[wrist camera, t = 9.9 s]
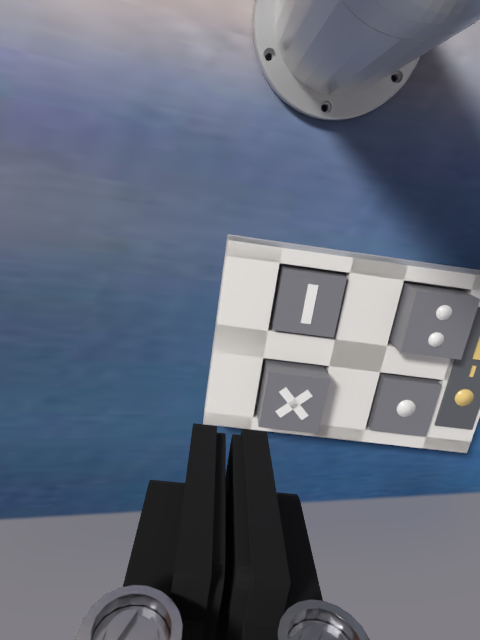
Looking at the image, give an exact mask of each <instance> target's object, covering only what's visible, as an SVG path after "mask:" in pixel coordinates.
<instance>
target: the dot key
mask: <svg viewBox="0 0 480 640" xmlns="http://www.w3.org/2000/svg"><path fill="white" fill-rule="evenodd" d="M441 387H442V385H441V384H440V383H439V382H438V381H437V380H436V379H432V378H423V377H415V376H407V375H399V374H391V373H382V372H380V374H379V378H378V382H377V386H376V390H375V394H374V397H373V401H372V405H371V409H370V413H369V417H368V420H367V424H368V426H369V428H370V430H372V431H381V432H390V433H399V434H408V435H417V436H426V435H427V432H428V429H429V425H430V422H431V419H432V416H433V412H434V409H435V406H436V403H437V400H438V396H439V393H440V390H441Z"/></svg>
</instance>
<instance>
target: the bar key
mask: <svg viewBox="0 0 480 640" xmlns="http://www.w3.org/2000/svg"><path fill="white" fill-rule="evenodd" d="M346 280H347V277H346V276H345V275H344V274H342V273H341V272H340V271H333V270H326V269H319V268H311V267H304V266H297V265H290V264H282V263H280V264H279V269H278V275H277V281H276V287H275V293H274V299H273V304H272V310H271V316H270V322H271V326H272V329H273V330H277V331H285V332H293V333H301V334H308V335H316V336H324V337H332V338H334V335H335V330H336V326H337V321H338V317H339V312H340V308H341V303H342V298H343V294H344V289H345V285H346Z"/></svg>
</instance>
